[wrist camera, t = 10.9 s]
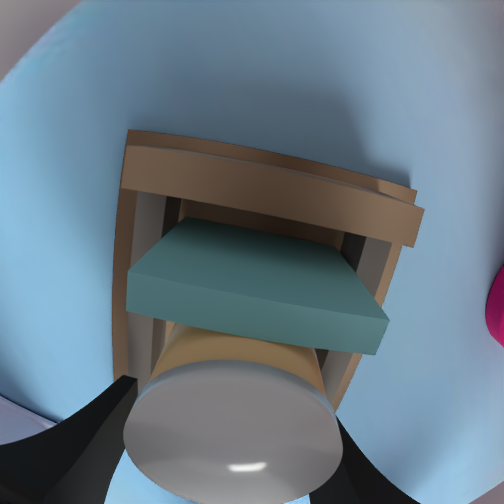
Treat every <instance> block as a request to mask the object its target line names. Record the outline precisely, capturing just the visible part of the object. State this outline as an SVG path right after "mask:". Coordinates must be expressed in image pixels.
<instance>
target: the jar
mask: <svg viewBox="0 0 504 504" xmlns="http://www.w3.org/2000/svg"><path fill="white" fill-rule="evenodd" d="M123 440H124V444H125V448H126V451H127V453H128V455H129V457H130V458H131V460H132V462H133V463H134V464H135V466H136V467H137V468H138V469H139V470H140V471H141V472H142V473H143V474H144V475H145V476H146V477H147V478H149V479H150V480H151V481H153V482H154V483H155V484H157V485H158V486H160V487H162V488H163V489H165V490H167V491H169V492H171V493H173V494H175V495H177V496H180V497H182V498H185V499H188V500H191V501H194V502H197V503H201V504H283V503H287V502H290V501H293V500H296V499H298V498H300V497H303V496H305V495H307V494H309V493H311V492H312V491H314V490H316V489H317V488H319V487H320V486H321V485H323V484H324V483H325V482H326V481H327V480H328V479H329V478H330V477H331V476H332V475H333V474H334V472H335V471H336V469H337V468H338V466H339V464H340V461H341V458H342V453H343V445H342V439H341V435H340V431H339V427H338V423H337V419H336V415H335V413H334V410H333V408H332V406H331V404H330V403H329V401H328V400H327V396H326V392H325V388H324V384H323V380H322V376H321V372H320V368H319V364H318V360H317V356H316V352H315V348H311V347H304V346H297V345H291V344H284V343H278V342H272V341H266V340H260V339H254V338H249V337H243V336H238V335H232V334H227V333H222V332H217V331H212V330H207V329H202V328H197V327H193V326H188V325H183V324H179V323H175V324H174V326H173V329H172V331H171V333H170V335H169V337H168V339H167V342H166V344H165V346H164V348H163V350H162V353H161V355H160V357H159V359H158V361H157V364H156V366H155V368H154V370H153V373H152V375H151V377H150V379H149V382H148V383H147V384H146V385H145V386H144V388H143V389H142V390H141V391H140V393H139V394H138V396H137V398H136V400H135V403H134V405H133V407H132V409H131V412H130V414H129V416H128V418H127V421H126V423H125V426H124V431H123Z"/></svg>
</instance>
